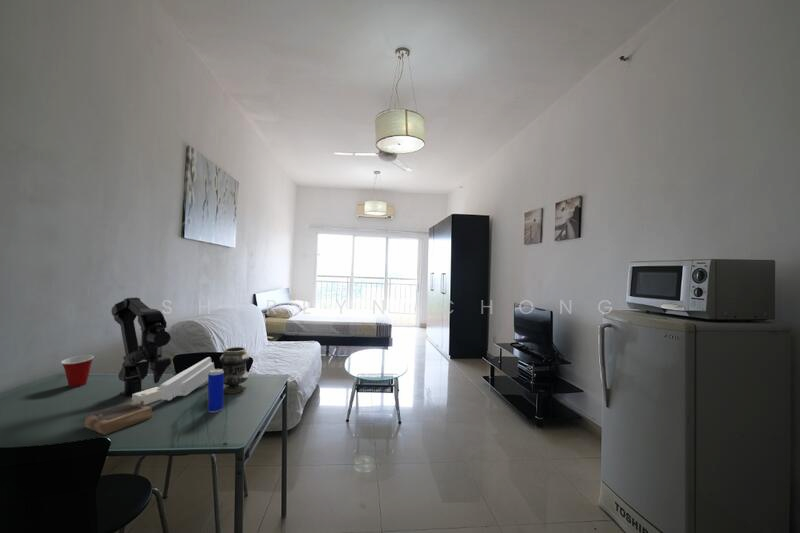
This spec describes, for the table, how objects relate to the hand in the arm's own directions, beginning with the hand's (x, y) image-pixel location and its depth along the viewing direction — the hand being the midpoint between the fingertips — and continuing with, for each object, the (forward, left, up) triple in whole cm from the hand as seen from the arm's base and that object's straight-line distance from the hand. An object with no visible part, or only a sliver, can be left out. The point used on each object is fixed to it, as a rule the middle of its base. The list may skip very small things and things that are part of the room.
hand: (149, 381), depth 137 cm
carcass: (+11, -16, -8) cm, 21 cm away
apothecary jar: (+19, +24, -8) cm, 32 cm away
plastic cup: (-46, -4, -8) cm, 47 cm away
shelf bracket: (+5, +14, -8) cm, 17 cm away
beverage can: (+31, +6, -8) cm, 33 cm away
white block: (0, 0, -8) cm, 8 cm away
